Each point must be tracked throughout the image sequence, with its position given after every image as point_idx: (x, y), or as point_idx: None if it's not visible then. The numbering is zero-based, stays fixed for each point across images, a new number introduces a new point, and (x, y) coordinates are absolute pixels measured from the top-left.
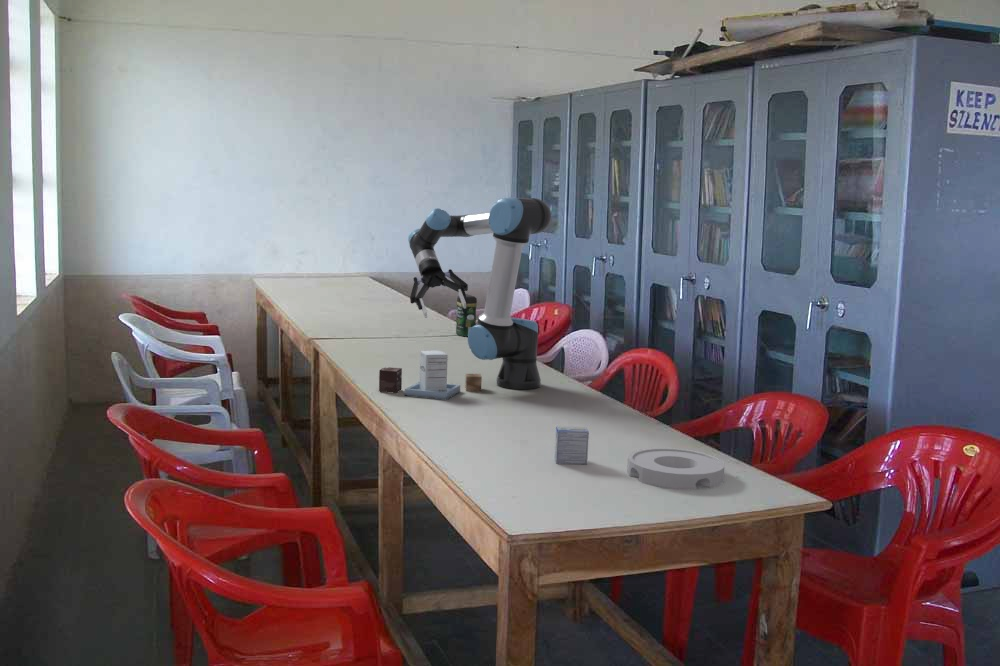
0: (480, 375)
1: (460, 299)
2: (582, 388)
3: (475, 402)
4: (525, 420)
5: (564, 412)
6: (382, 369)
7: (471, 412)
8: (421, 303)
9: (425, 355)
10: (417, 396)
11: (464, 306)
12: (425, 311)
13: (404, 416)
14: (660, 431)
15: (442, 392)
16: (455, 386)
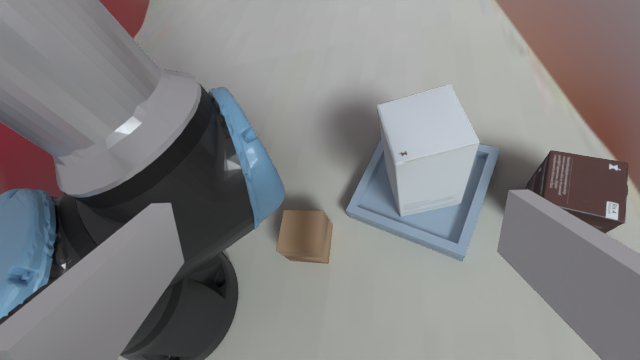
0: (282, 229)
1: (121, 349)
2: None
3: (331, 122)
4: (279, 37)
5: (208, 85)
6: (618, 171)
7: (351, 58)
8: (636, 252)
9: (454, 91)
10: None
11: (174, 240)
12: (525, 195)
13: (473, 14)
14: (151, 31)
15: None
16: (360, 192)
